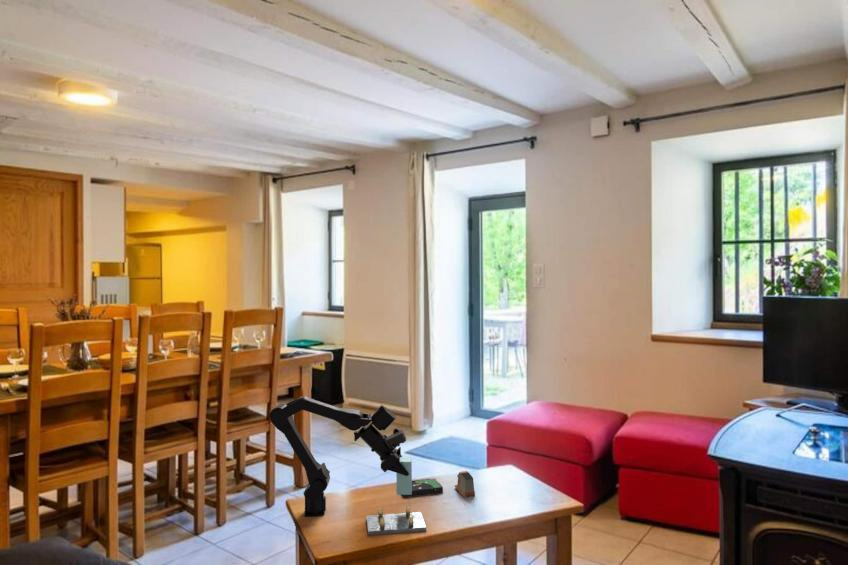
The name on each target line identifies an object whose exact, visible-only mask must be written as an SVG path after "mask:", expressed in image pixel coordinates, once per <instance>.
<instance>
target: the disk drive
mask: <svg viewBox="0 0 848 565" xmlns="http://www.w3.org/2000/svg"><path fill="white" fill-rule="evenodd" d="M438 493H439V494H443V493H444V487H443V486H442V484H440V482H438V480H437V479H436V478H425V479H416V480H412V495H402V496H403V498H412V497H419V496H420V495H421V496H429V495H428V494H430V495H436V494H438Z"/></svg>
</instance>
